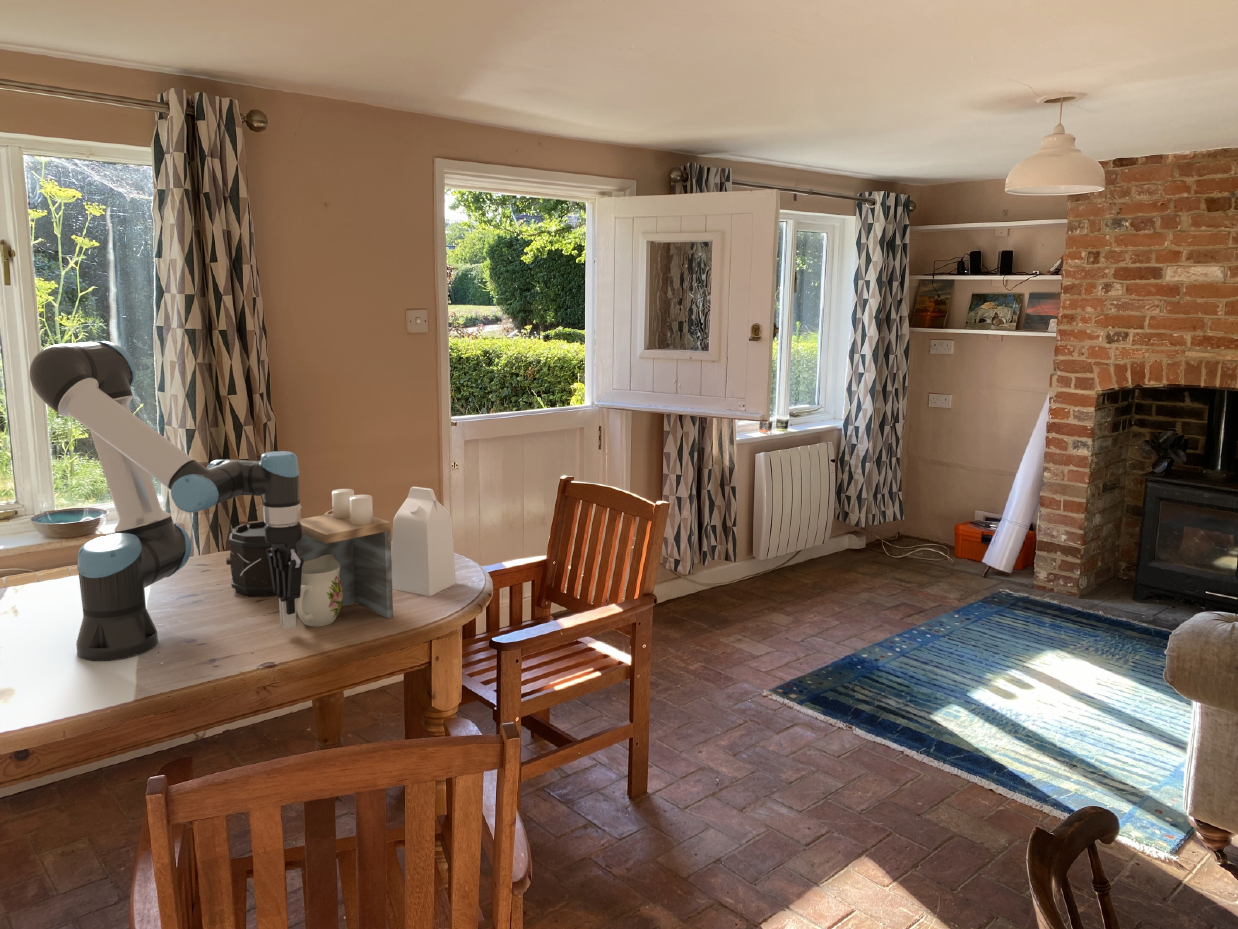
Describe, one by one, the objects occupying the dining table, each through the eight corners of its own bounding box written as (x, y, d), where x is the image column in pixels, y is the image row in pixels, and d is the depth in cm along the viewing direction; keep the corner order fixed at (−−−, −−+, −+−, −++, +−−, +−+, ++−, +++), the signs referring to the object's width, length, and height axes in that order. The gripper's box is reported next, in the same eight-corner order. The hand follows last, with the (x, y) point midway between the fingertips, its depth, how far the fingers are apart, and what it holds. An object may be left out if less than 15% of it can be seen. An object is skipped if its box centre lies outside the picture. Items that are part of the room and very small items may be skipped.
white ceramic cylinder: (339, 519, 211) (338, 494, 209) (328, 515, 214) (327, 490, 213) (358, 516, 214) (358, 491, 213) (348, 512, 218) (347, 487, 216)
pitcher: (276, 636, 201) (272, 576, 198) (311, 608, 219) (309, 553, 216) (323, 639, 200) (321, 579, 197) (355, 610, 218) (353, 555, 215)
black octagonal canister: (230, 580, 238) (226, 521, 235) (302, 573, 244) (299, 516, 241) (227, 602, 221) (222, 540, 218) (304, 595, 228) (301, 534, 224)
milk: (456, 583, 239) (454, 486, 234) (429, 596, 229) (427, 495, 223) (418, 576, 244) (416, 481, 239) (391, 588, 233) (388, 490, 228)
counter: (330, 634, 203) (326, 534, 198) (296, 615, 213) (291, 520, 209) (393, 616, 214) (390, 522, 209) (357, 599, 225) (354, 509, 220)
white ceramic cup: (357, 526, 205) (356, 500, 204) (346, 522, 209) (345, 496, 207) (377, 522, 209) (376, 497, 208) (365, 518, 212) (364, 493, 211)
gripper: (314, 526, 195) (319, 630, 200) (285, 514, 205) (290, 614, 209) (280, 532, 190) (286, 639, 194) (252, 520, 199) (258, 622, 204)
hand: (288, 626), depth 202 cm, fingers closed
